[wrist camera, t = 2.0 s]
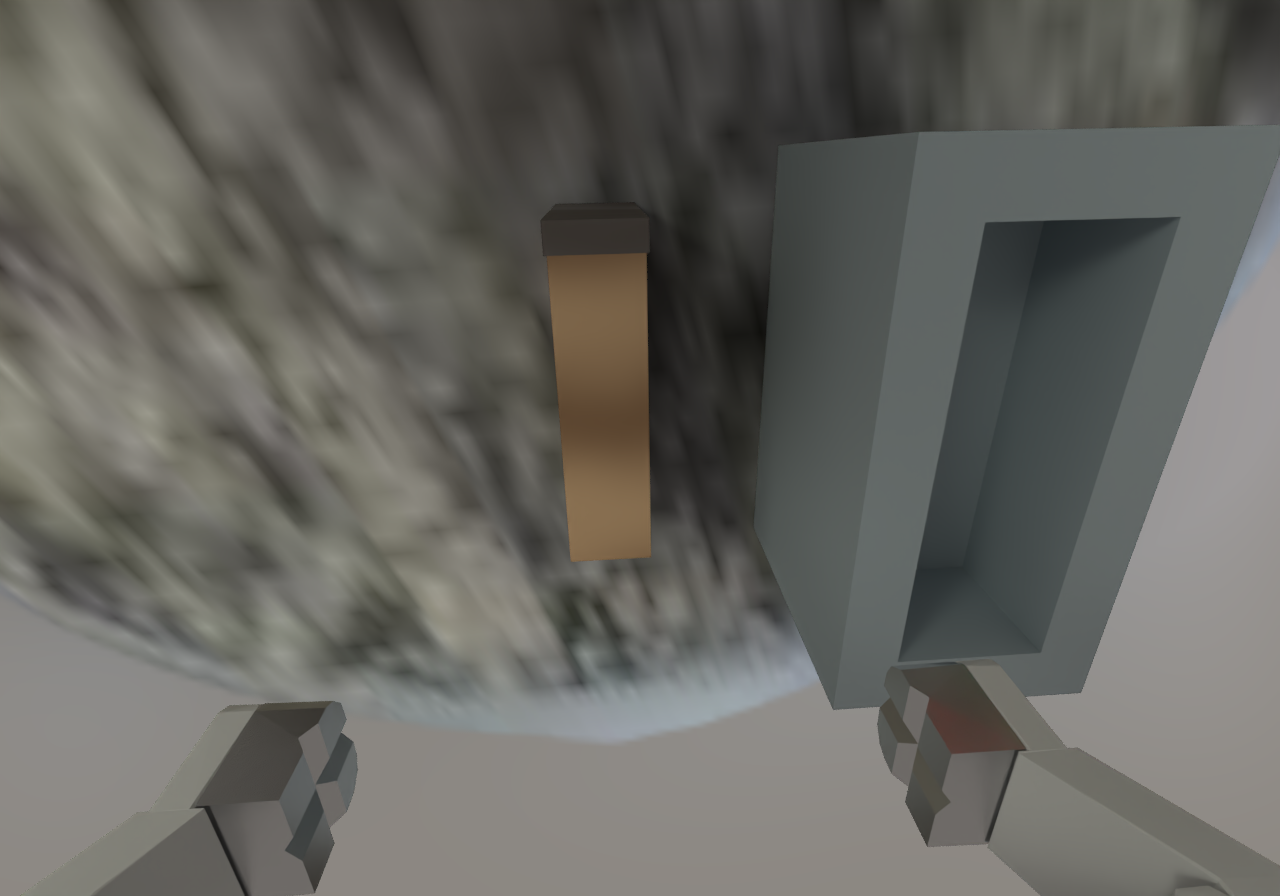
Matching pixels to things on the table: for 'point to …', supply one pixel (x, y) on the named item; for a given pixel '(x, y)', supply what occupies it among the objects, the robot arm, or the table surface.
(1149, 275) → the grey hollow frame
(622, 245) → the brown rectangular block
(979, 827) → the robot arm
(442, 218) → the table surface
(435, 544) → the table surface
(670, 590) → the table surface
